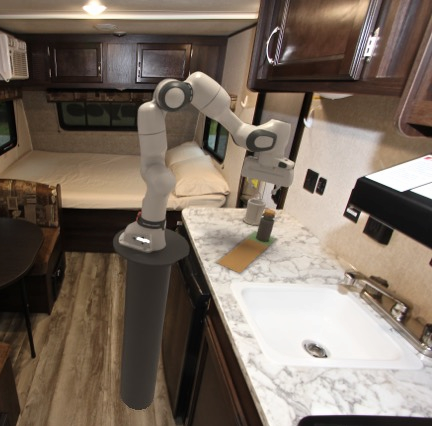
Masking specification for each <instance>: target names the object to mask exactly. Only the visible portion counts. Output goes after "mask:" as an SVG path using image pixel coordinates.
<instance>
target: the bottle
mask: <svg viewBox="0 0 432 426" xmlns="http://www.w3.org/2000/svg"><path fill="white" fill-rule="evenodd" d="M276 213H277V212H276V210H273V209H270V208H269V209H264V211H263V216H262V218H261V220H260V224H259V225H258V227H257V231H256V232H257V235H256V239H257V240H259V241H262V242H268V241H269V238H270V237H271V235H272V231H273V228H274V224H275V220H274V219H275V218H276V215H275V214H276Z"/></svg>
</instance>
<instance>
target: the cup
mask: <svg viewBox="0 0 432 426" xmlns="http://www.w3.org/2000/svg"><path fill="white" fill-rule="evenodd" d="M265 209H270V208H269V207H268V206H267V202H266V201H265V200H262V199H258V198H249V199H248V200H247V206H246V210H245V215H244V217H243V221H244V223H246V224H248V225H251V226H259V224H260V220H261V218H262V217H264V216H263V213H264V210H265Z"/></svg>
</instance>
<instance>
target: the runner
mask: <svg viewBox="0 0 432 426" xmlns="http://www.w3.org/2000/svg"><path fill="white" fill-rule="evenodd" d="M268 247H269V246H267V245H264V244H262V243H259V242H256V241H254V240H251V239H248V237H247V238H246V239H244V240H243V241H242V242H241V243H239V244H238V245H237V246H236V247H234V248H233V249H232V250H231V251H229V252H228V253H226V254H225V256H223V257H222V258H221V259H219V260H218V261H217V262H216V264H218V265H220V266H223V267H224V268H227V269H229V270H231V271H234V272H236V273H238V274H241V273H242V272H243V271H245V269H246V268H247V267H248V266H249V265H250V264H252V263H253V261H254V260H256V259H257V258H258V257H259V256H260V255H261V254H262V253H263V252H264V251H265V250H266V249H268Z"/></svg>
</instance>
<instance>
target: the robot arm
mask: <svg viewBox="0 0 432 426" xmlns="http://www.w3.org/2000/svg"><path fill="white" fill-rule="evenodd" d="M189 104H191V105H192V106H194V107H195V109H197V110H198V111H199V112H200V113H202V114H203V115H204V116H205V117H208V118H209V119H211V120H214V121H216V122H217V123H219V124H220V125H221V126H222V127H223V128H224V129H225V130H226V131H227V132H228V133H229V134H230V137H231V140H232V142H233V143H234V145H236V146H237V147H239V148H242V149H245V150H247V151H248V152H251V153H252V152H253V153H259V156H253V155H248V156H245V158H244V159H243V166H242V168H241V171H240V176H241V177H244V178H247V182H248V189H251V190H253V189H254V186H255V184H254V183H253V180H256V181H260V182H264V183H268V184H271V185H274V186H275V189H274V188H273V189H271V190H270V191H271V192H270V195H273V196H275V195H276V194H277V191H278V190H279V189H281V187H284V188H288V187H291V185H292V184H293V182H294V176H295V170H294V169H293V168H294V167H295V164H296V163H295V161H292V160H290V159H289V158H287V157H285V149H286V147H287V146H288V144H289V140H290V137H291V131H292V124H291V122H289V121H287V120H283V119H279V118H272V119H270V120H268V121H266V122H265V123H263V124H260V125H253V124H251V123H249V122H245V121H243V120H241V119H240V117H238V116H237V115H236V114H235V113H234V112H233V111H232V110H231V108H230V107H231V104H232V98H231V96H230V95H229V94H228V92H227V91H226V90H225V88H224V87H223V86H222V85H220V84H219V83H218V81H216V80H215V79H213V78H212V77H210V76H209V75H207V74H206V73H204V72H201V71H195V72H193V73H191V74H189V76H188V77H186V80H184V81H181V80H178V79H175V78H163V79H162V80H160V81H159V82H158V83H157V84H156V85H155V88H154V89H153V93H152V95H151V97H150V101H147V102H144V103H142V104H141V105H140V106H139V108H138V109H137V133H138V142H139V149H140V162H139V163H140V168H139V173H140V178H141V179H142V180H143V182H144V183H145V184H146V192H145V194H144V197H142V200H141V211H138V213H137V216H136V220H135V221H133V222H132V223H129V224H127V225H126V228H124V229H125V232H123V233H122V234H121V236H120V237H119V244H120V245H123V246H126V247H129V248H132V249H136V250H139V251H142V252H145V253H150V252H152V251H157V250H161V249H163V248H164V247H165V246H166V242H165V234H164V230H165V228H166V227H167V216H166V215H167V207H168V201H169V199H170V195H171V193H173V192H174V191H175V189H176V188H177V179H176V177H175V174H174V173H173V171H172V170H171V169H170V168H169V167H167V165H166V153H167V150H168V139H167V138H168V137H167V127H166V116H167V114H168V113H176V112H180V111H181V110H182V109H184V108H185V107H187V105H189Z"/></svg>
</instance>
